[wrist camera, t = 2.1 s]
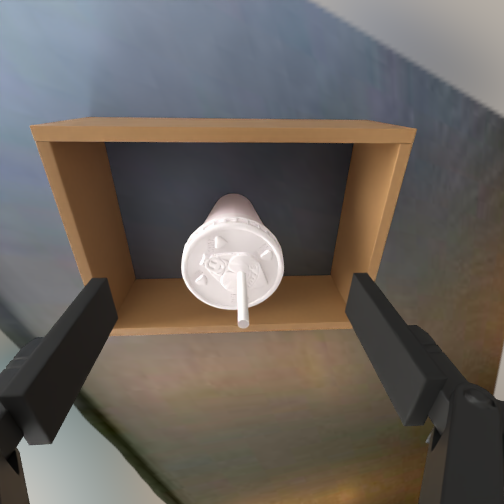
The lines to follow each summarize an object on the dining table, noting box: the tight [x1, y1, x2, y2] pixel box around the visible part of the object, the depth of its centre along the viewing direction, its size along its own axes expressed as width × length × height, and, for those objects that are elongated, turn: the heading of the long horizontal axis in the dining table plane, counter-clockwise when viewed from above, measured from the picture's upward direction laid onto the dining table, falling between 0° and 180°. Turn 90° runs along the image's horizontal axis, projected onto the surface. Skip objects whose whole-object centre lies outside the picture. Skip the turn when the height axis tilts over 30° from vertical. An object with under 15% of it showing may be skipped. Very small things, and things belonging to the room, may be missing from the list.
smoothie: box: [181, 193, 284, 328], centre depth 19 cm, size 6×6×14 cm
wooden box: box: [30, 117, 417, 336], centre depth 22 cm, size 16×22×7 cm
